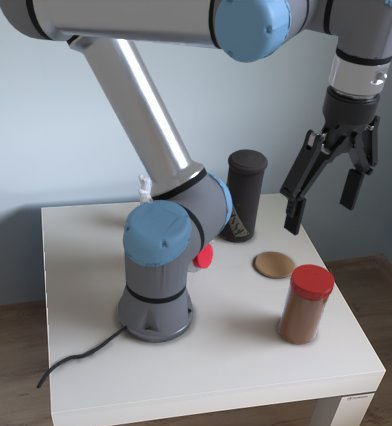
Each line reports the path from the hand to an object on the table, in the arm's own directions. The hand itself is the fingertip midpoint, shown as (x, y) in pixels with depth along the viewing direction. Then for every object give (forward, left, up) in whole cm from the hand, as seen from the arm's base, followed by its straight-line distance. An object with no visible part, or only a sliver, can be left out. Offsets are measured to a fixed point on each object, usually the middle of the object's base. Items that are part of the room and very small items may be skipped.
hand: (319, 218), depth 89 cm
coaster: (+10, +16, -26) cm, 32 cm away
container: (+10, +30, -26) cm, 41 cm away
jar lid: (0, -2, -12) cm, 12 cm away
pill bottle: (-11, +29, -22) cm, 39 cm away
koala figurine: (-7, +43, -26) cm, 50 cm away
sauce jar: (0, -2, -26) cm, 26 cm away
